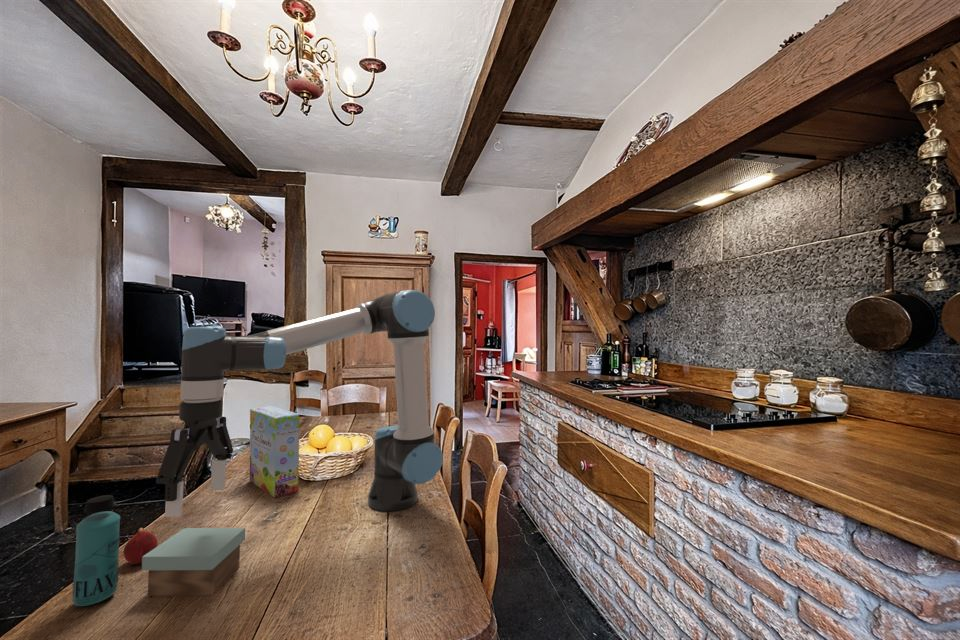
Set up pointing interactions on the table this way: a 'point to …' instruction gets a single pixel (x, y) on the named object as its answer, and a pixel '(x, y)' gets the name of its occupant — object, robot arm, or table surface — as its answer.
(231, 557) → the box
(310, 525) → the table surface
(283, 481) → the snack box
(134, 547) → the onion
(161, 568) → the lid
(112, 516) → the beverage bottle
